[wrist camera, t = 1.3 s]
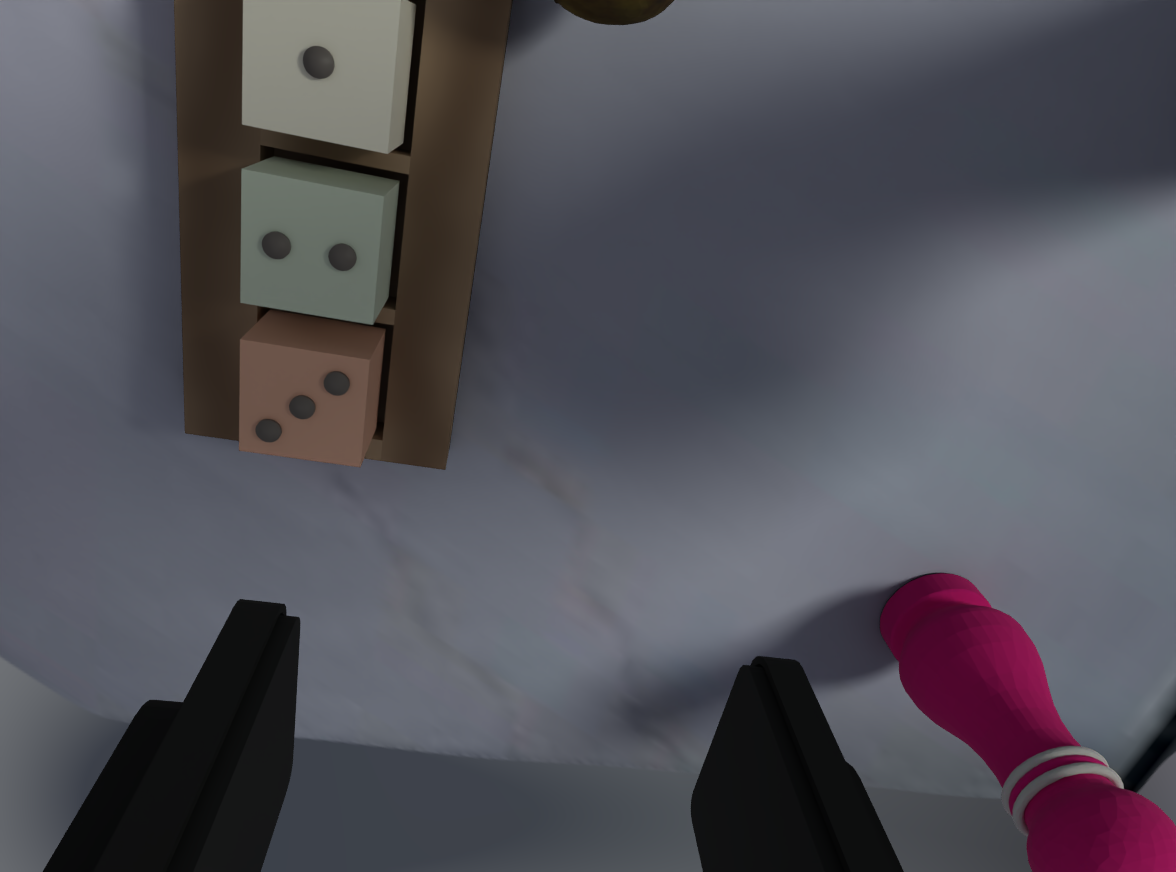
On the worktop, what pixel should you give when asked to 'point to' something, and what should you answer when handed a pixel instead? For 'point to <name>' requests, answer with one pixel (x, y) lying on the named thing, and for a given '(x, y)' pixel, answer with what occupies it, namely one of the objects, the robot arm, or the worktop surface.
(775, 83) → the worktop surface
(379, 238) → the two-pip tile
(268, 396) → the three-pip tile
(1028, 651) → the pepper mill
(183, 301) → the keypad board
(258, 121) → the one-pip tile
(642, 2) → the potato
